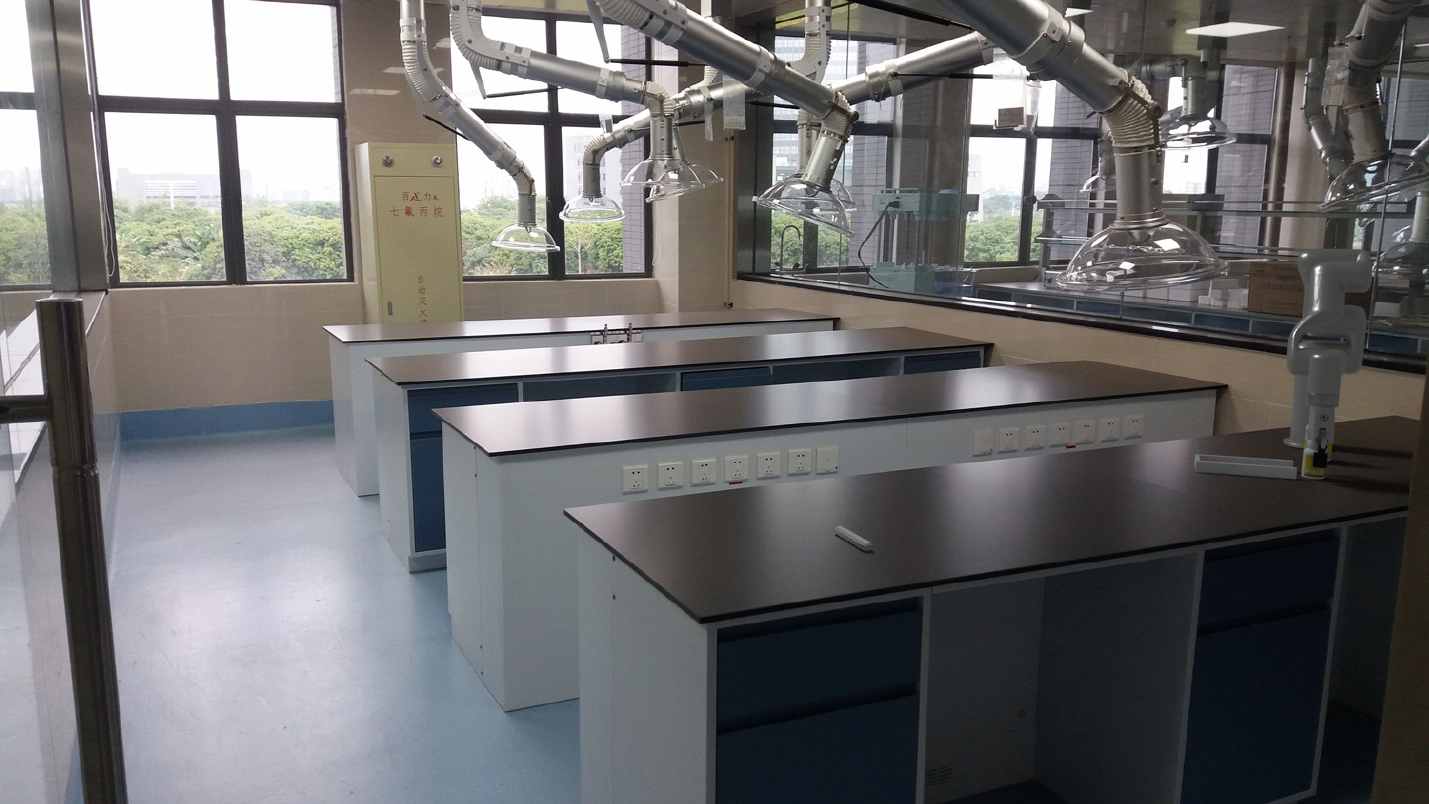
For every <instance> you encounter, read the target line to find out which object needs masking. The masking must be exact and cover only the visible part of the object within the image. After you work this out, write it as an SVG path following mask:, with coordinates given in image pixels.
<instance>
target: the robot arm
mask: <svg viewBox="0 0 1429 804" xmlns="http://www.w3.org/2000/svg"><path fill="white" fill-rule="evenodd" d="M1297 269H1298V273H1299V275H1300V278H1301V281H1302V284H1303V288H1304V296H1303V297H1304V298H1303V307H1302V318H1301V320H1299V321H1298V322H1297V323H1296V324H1295V326H1294V327H1293V328H1292V329H1291V332H1290V334H1289V336H1288V339H1287V348H1286V349H1287V350H1286V369H1287V371H1288V372H1289V373H1290V375H1293V376H1294V380H1293V382H1294V383H1293V385H1294V386H1293V395H1292V396H1293V397H1292V409H1291V419H1290V421H1291V422H1290V431H1289V432H1290V433H1289V437H1286V438H1284V439H1283V444H1284V445H1285V446H1287V447H1291V448H1297V449H1303V450H1304V448H1305V436H1306V426H1307V425H1308V438H1309V439H1310V441H1311V442H1312V443H1314V444H1315V452H1314V453H1313V465H1312V466H1313V467H1314V468H1326V469H1327V468H1328V462H1327V460H1328V443H1329V444H1330V445H1332V446H1333V444H1334V439H1335V420H1336V416H1335V414H1336V412H1335V408H1338V407H1339V405H1340V395H1341V385H1342V377H1343V375H1355V374H1356V373H1358V372H1359V371H1360V370H1361V368H1362V366H1363V358H1364V349H1365V347H1364V346H1365V340H1366V339H1365V338H1366V329H1367V327H1366V326H1367V316H1366V312H1365V309H1364V308H1363V307H1361V306H1359V305H1355V304H1354V305H1353V304H1345V303H1346V302H1345V299H1346V298H1345V297H1346V293H1361V294H1362V293H1363V294H1364V293H1366V292H1368V291H1369V290H1370V287H1371V285H1372V283H1373V265H1372V260H1371V256H1370V254H1369V252H1368V251H1367V250H1366V249H1359V248H1314V249H1313V248H1311V249H1306V250H1303V251H1301V252H1300V253H1299V254H1298V258H1297ZM1305 335H1306V336H1310V337H1315V338H1316V337H1319V338H1339V339H1340V338H1342V339H1345V340H1346V341H1337V340H1334V341H1333V340H1315V339H1314V340H1312V339H1311V340H1310V339H1309V340H1304V341H1301V339H1302V337H1303V336H1305ZM1300 341H1301V342H1300Z"/></svg>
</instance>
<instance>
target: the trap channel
mask: <svg viewBox="0 0 1429 804" xmlns="http://www.w3.org/2000/svg"><path fill="white" fill-rule="evenodd" d="M1194 471H1195V473H1203V474H1216V475H1217V474H1218V475H1228V476H1229V475H1230V476H1231V475H1232V476H1242V477H1243V476H1246V477H1257V478H1272V479H1273V478H1274V479H1284V480H1285V479H1287V480H1297V474H1298V467H1294V461H1293V460H1289V459H1287V460H1285V459H1274V458H1259V457H1258V458H1257V457H1242V456H1230V455H1212V454H1201V453H1200V454H1198V453H1196V454H1194Z"/></svg>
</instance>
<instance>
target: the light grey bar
mask: <svg viewBox="0 0 1429 804" xmlns="http://www.w3.org/2000/svg"><path fill="white" fill-rule="evenodd" d="M834 528H835V530H837V531H838V532H840V533H842V534H843V535H845V536H847V537H848V538H850V539H852V540H853V541H855V542H857V543H859V544H862V545H864V546H867V545H872V543H871V541H868V540H866V539H864V538H863V537H861V536H859V535H858V534H856V533H855V532H853V531H851V530H849V529H847V528H845V527H844V526H842V525H838V526H835V527H834Z"/></svg>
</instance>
